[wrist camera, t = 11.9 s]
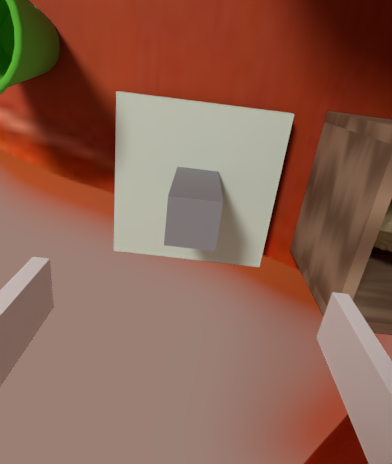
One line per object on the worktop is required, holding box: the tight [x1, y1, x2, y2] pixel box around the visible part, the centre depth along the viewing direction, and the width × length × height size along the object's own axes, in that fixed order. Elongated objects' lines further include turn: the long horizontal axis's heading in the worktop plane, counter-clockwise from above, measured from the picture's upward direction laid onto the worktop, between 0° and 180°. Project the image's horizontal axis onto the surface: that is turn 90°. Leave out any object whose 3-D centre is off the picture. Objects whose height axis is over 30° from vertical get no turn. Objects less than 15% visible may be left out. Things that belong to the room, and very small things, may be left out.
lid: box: [114, 91, 294, 267], centre depth 30 cm, size 16×16×11 cm
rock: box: [373, 199, 392, 252], centre depth 32 cm, size 11×9×10 cm
